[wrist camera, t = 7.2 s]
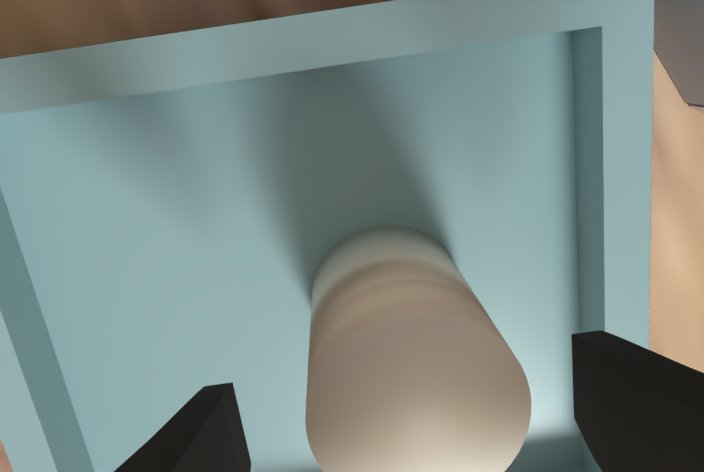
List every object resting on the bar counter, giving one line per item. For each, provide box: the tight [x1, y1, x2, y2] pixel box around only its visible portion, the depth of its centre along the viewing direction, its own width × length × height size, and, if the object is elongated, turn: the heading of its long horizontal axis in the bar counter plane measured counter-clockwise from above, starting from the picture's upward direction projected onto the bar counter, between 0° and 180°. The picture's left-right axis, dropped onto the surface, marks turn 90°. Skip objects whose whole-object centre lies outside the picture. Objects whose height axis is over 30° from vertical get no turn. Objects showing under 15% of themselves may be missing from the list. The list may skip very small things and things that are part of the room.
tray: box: [0, 0, 654, 472], centre depth 17 cm, size 16×18×2 cm
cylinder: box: [305, 225, 531, 472], centre depth 14 cm, size 4×4×6 cm
